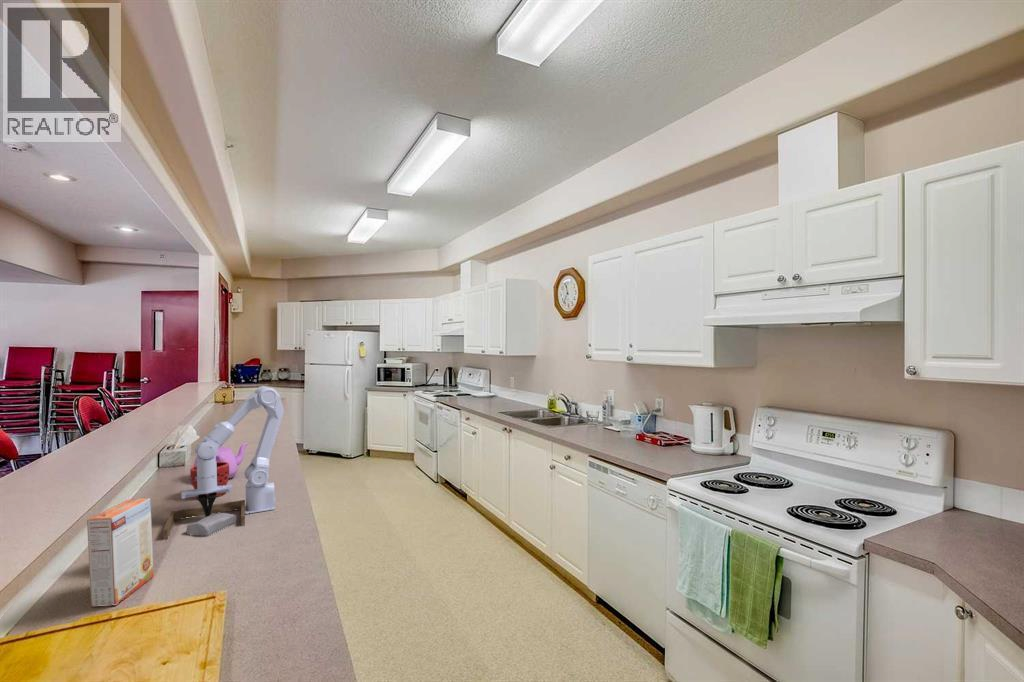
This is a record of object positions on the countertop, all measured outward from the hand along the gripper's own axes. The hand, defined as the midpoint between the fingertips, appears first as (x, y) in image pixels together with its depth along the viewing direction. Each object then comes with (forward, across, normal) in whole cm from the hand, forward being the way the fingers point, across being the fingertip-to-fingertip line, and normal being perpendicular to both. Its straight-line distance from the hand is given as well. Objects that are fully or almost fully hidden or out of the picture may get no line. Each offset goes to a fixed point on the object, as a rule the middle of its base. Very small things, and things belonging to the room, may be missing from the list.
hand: (208, 515), depth 167 cm
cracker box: (+2, +15, +46) cm, 48 cm away
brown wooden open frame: (+1, 0, +3) cm, 4 cm away
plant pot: (+2, +1, -31) cm, 31 cm away
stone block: (+2, -1, +9) cm, 10 cm away
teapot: (+2, 0, -57) cm, 57 cm away
